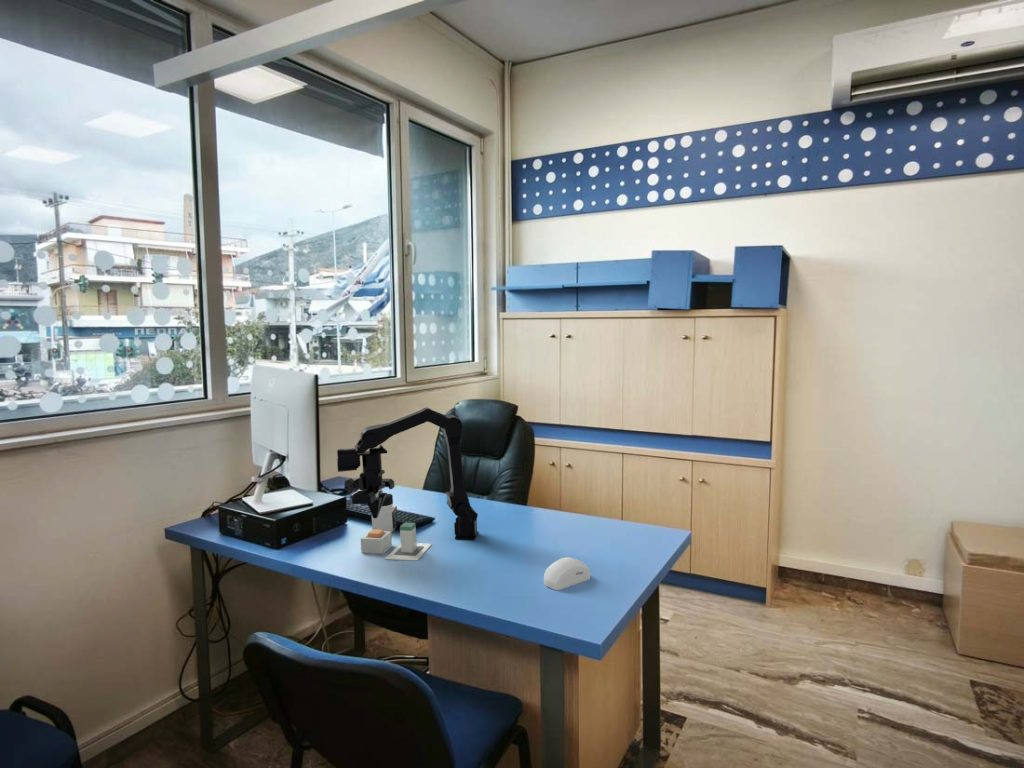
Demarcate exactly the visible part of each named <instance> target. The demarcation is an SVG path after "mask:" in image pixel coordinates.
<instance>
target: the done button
mask: <svg viewBox="0 0 1024 768" xmlns="http://www.w3.org/2000/svg"><path fill="white" fill-rule="evenodd" d="M369 531H370V532H369ZM369 531H368V532H369V533H368V532H367V533H368V538H381V537H382V536H383V535H384V530H379V529H373V530H372V529H371V530H369Z"/></svg>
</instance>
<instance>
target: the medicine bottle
mask: <svg viewBox="0 0 1024 768" xmlns="http://www.w3.org/2000/svg"><path fill="white" fill-rule="evenodd" d="M386 493H387V495H386V497H385V500H384V502H383V504H382V507H381V510H380V512H379V515H378V517H377V518H373V516H372V515H371V527H372V529H371V530H373V529H379V530H384V531H391V533H393V532H395V529H396V528H397V526H396V519H397V520H398V508H397V507H398V506H397V505H396V504H394V499H393V498H394V496H393V494H392V493H389V492H386Z"/></svg>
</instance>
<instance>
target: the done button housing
mask: <svg viewBox="0 0 1024 768" xmlns="http://www.w3.org/2000/svg"><path fill="white" fill-rule="evenodd" d="M370 531H371V530H369V531H368V532H367V533H366V534H364V535H363V536H361V538H360V546H361V547H360V550H361V554H379V555H380V554H381V555H383V554H384V553H385V552H387V551H388V550H389V549H390V548H391V547H392V546H393V543H392V542H393V541H392V532H391V531H384V535H383V536H382V537H381V538H368V533H369V532H370Z"/></svg>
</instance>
